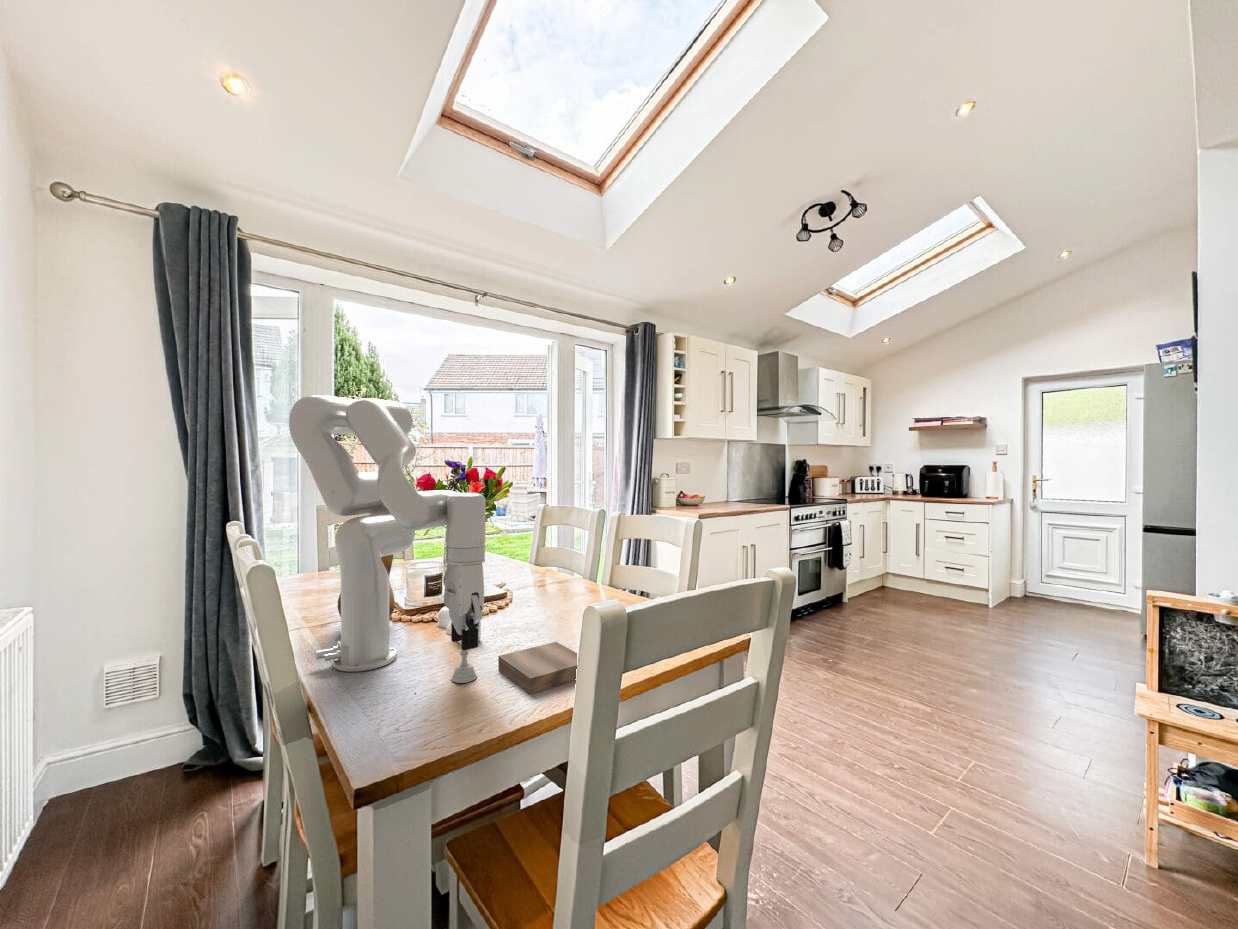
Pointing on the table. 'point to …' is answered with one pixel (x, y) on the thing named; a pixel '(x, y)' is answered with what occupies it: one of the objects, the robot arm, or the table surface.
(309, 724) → the table surface
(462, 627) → the chalice
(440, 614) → the container set
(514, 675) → the walnut plinth
